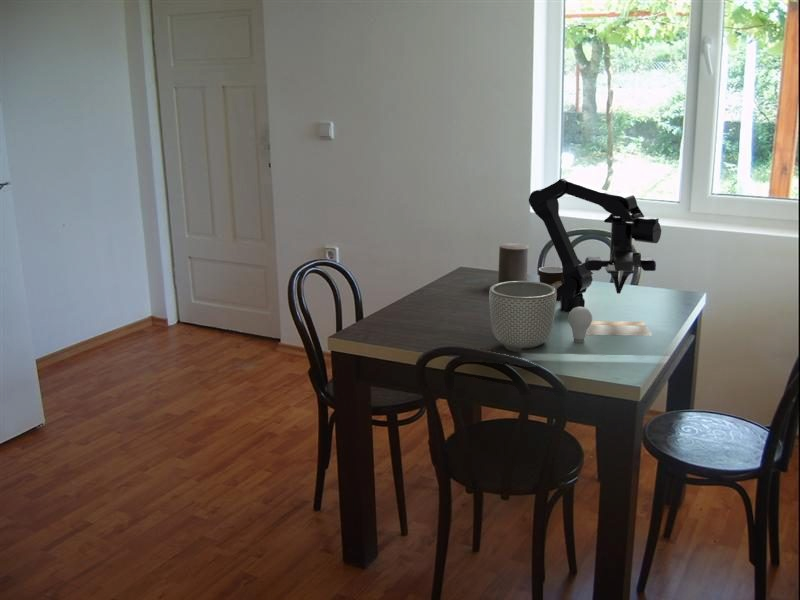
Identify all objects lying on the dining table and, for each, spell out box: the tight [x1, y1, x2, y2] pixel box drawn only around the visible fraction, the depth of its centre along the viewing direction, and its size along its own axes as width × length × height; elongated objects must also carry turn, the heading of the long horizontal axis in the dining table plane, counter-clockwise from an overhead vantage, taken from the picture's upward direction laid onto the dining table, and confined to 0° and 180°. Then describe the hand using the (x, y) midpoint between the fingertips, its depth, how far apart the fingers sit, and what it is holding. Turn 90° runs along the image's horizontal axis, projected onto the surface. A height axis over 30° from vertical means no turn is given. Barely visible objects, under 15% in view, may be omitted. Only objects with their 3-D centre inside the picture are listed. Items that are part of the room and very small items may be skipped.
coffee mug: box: [538, 266, 564, 302], centre depth 258 cm, size 12×9×10 cm
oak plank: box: [590, 320, 646, 326], centre depth 234 cm, size 20×9×1 cm, turn 84°
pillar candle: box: [497, 241, 530, 284], centre depth 276 cm, size 10×10×15 cm
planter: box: [488, 280, 557, 353], centre depth 215 cm, size 17×17×16 cm
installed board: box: [585, 325, 653, 337], centre depth 225 cm, size 20×9×2 cm, turn 84°
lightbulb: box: [567, 307, 593, 344], centre depth 215 cm, size 6×6×11 cm
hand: (618, 293), depth 234 cm, fingers closed
